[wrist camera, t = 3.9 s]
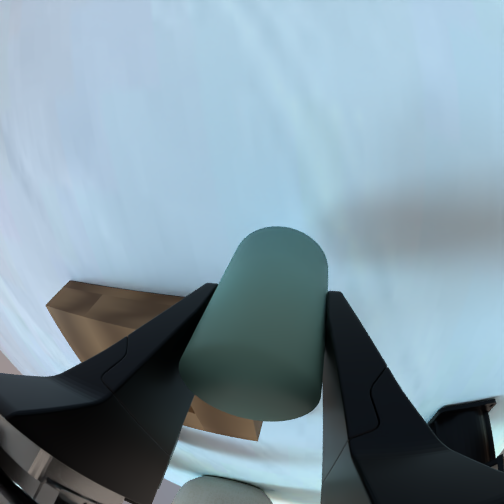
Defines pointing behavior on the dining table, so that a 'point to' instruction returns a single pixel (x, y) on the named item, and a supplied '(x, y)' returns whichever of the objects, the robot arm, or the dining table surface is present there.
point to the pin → (263, 330)
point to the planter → (219, 492)
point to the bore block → (121, 325)
